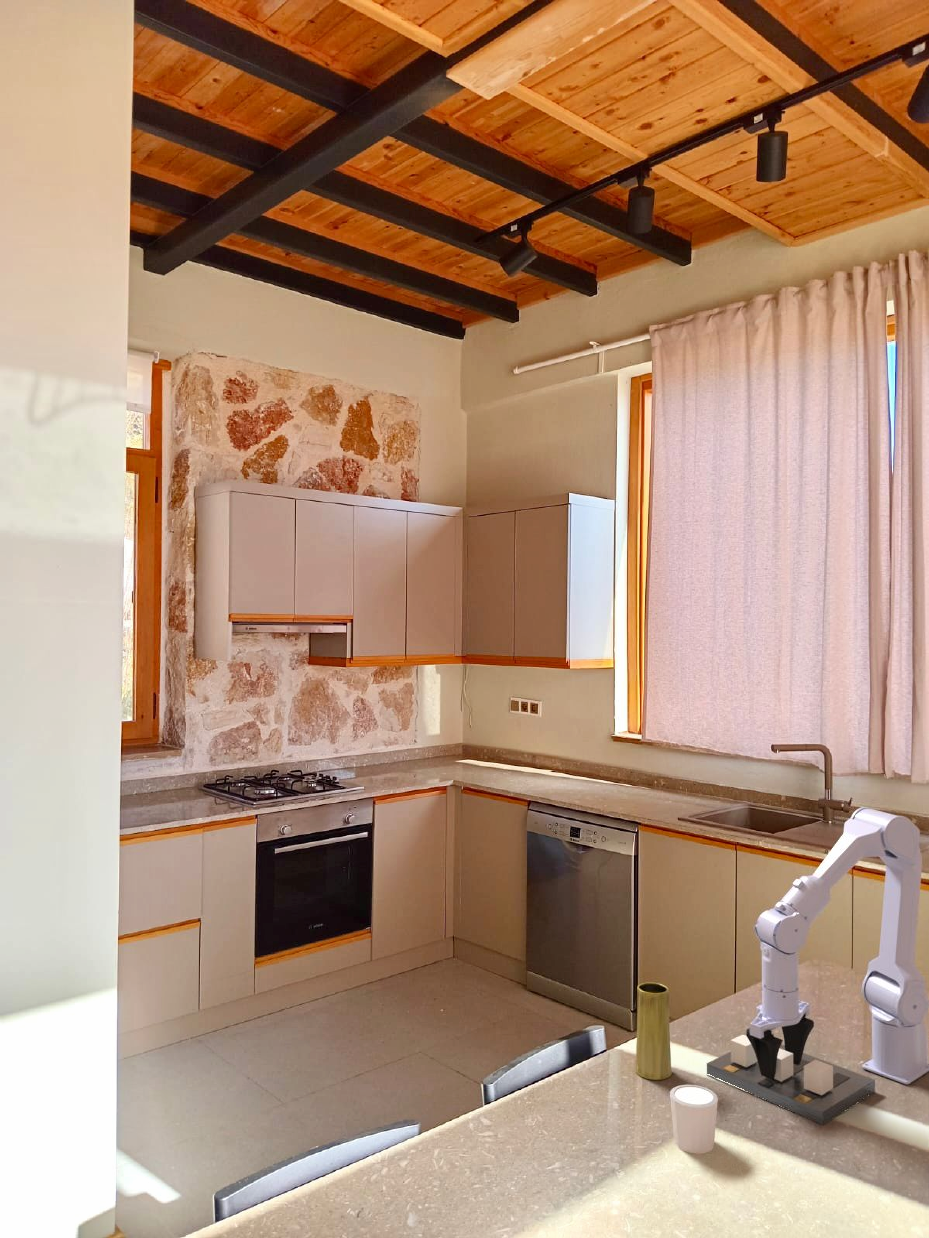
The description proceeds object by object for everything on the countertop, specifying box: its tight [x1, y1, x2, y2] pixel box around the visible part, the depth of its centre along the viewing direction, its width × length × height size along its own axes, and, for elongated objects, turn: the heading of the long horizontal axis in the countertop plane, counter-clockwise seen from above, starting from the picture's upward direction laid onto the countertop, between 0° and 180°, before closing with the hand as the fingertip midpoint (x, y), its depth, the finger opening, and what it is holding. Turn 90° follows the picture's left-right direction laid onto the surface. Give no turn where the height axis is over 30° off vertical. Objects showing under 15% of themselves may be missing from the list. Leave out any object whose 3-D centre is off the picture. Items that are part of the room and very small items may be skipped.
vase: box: [634, 981, 673, 1081], centre depth 160 cm, size 6×6×14 cm
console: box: [706, 1044, 876, 1126], centre depth 156 cm, size 16×21×2 cm
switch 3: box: [804, 1060, 833, 1095], centre depth 150 cm, size 4×3×4 cm
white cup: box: [669, 1084, 719, 1155], centre depth 138 cm, size 7×7×7 cm
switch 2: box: [774, 1048, 793, 1082], centre depth 154 cm, size 4×3×4 cm
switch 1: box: [730, 1034, 758, 1067], centre depth 159 cm, size 4×3×4 cm
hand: (780, 1069), depth 155 cm, fingers open, 7 cm apart
